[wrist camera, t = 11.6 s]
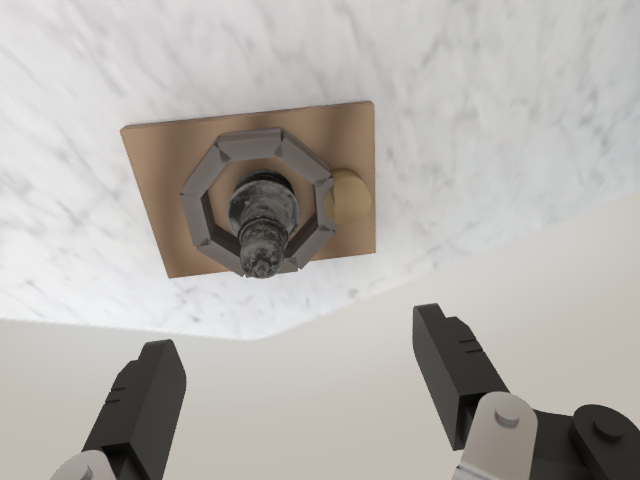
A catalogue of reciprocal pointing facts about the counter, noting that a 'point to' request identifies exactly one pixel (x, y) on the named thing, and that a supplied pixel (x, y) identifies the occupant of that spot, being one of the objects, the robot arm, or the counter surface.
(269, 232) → the salt shaker
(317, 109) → the board
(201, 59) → the counter surface
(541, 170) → the counter surface
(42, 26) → the counter surface
